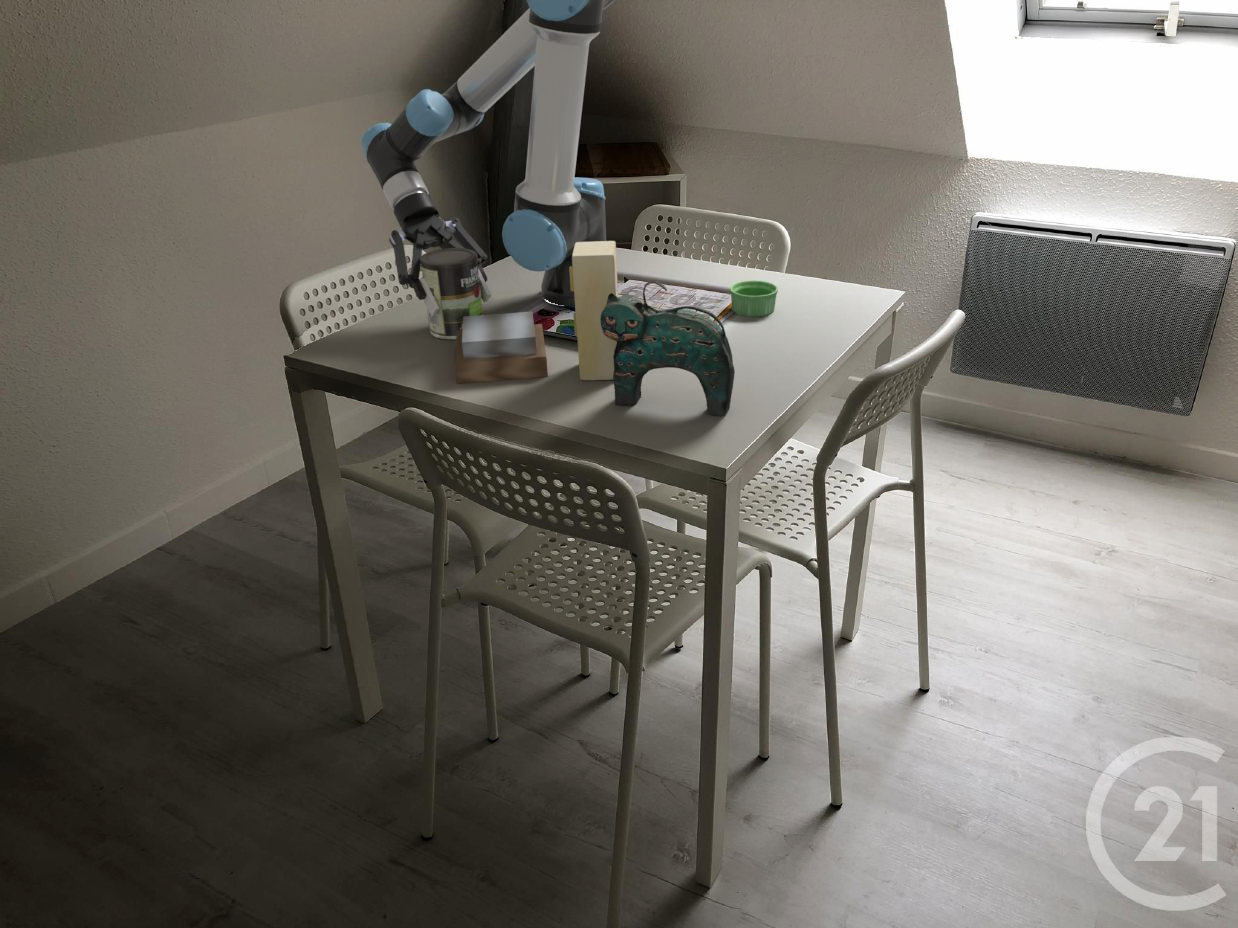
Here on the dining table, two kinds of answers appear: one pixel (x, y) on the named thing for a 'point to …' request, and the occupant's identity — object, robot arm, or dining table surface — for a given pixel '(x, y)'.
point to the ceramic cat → (667, 348)
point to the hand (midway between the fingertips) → (462, 305)
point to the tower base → (501, 363)
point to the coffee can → (452, 288)
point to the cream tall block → (593, 306)
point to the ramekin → (753, 298)
